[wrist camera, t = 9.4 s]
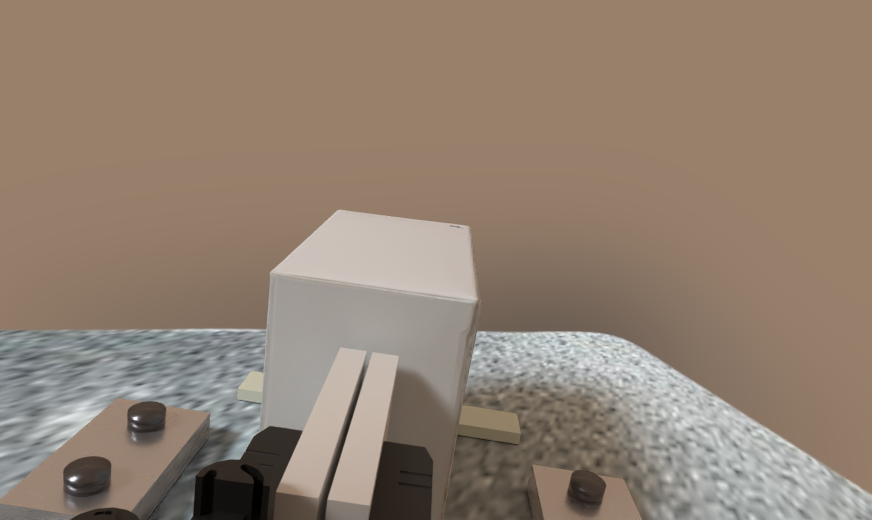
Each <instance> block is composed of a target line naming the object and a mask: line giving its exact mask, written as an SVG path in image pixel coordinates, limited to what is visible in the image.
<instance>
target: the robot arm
mask: <svg viewBox="0 0 872 520" xmlns="http://www.w3.org/2000/svg"><path fill="white" fill-rule="evenodd" d="M366 355H367V351H362V350H355V349H348V348H342V347H340V349H339V352H338V354H337V356H336V358H335V361H334V363H333V365H332V367H331V370H330V372H329V374H328V376H327V379H326V381H325V383H324V385H323V387H322V390H321V392H320V394H319V396H318V399H317V401H316V403H315V405H314V408H313V410H312V412H311V414H310V417H309V419H308V421H307V423H306V426H305V428H304V430H303V431H302V430H295V429H288V428H282V427H275V426H269V427H267V428H266V429H264V430H263V431H261V432H260V433H258V434H257V435H255V436H254V437H253V439H252V441H251V442H250V444H249V446H248V447H247V449H246V452H244V454H243V456H242V458H241V459H240V460H226V461H221V462H216V463H214V464H212V465H210V466H207V467H205V468H204V469H203V470H202V471H201V472H199V473H198V474H197V475H196V480H195V497H194V513H193V517H192V519H191V520H431V505H432V480H433V478H432V477H433V460H432V458H431V456H430V454H429V453H428V451H427V449H426V448H425V447H421V446H414V445H408V444H401V443H394V442H387V441H386V440H387V434H388V427H389V420H390V413H391V407H392V400H393V393H394V387H395V380H396V373H397V367H398V360H399V356H395V355H388V354H382V353H375V352H372V356H371V359H370V362H369V365H368V369H367V372H366V375H365V379H364V382H363V377H364V370H365V362H366ZM70 520H139V518H138V516H137V515H135V514H134V513H132V512H130V511H128V510H126V509H120V508H114V507H111V508H99V509H94V510H91V511H88V512H84V513H81V514H79V515H77V516H75V517H73V518H72V519H70Z"/></svg>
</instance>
